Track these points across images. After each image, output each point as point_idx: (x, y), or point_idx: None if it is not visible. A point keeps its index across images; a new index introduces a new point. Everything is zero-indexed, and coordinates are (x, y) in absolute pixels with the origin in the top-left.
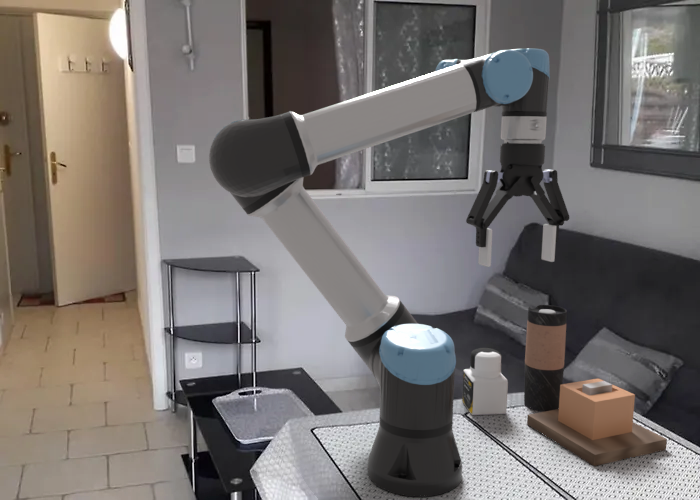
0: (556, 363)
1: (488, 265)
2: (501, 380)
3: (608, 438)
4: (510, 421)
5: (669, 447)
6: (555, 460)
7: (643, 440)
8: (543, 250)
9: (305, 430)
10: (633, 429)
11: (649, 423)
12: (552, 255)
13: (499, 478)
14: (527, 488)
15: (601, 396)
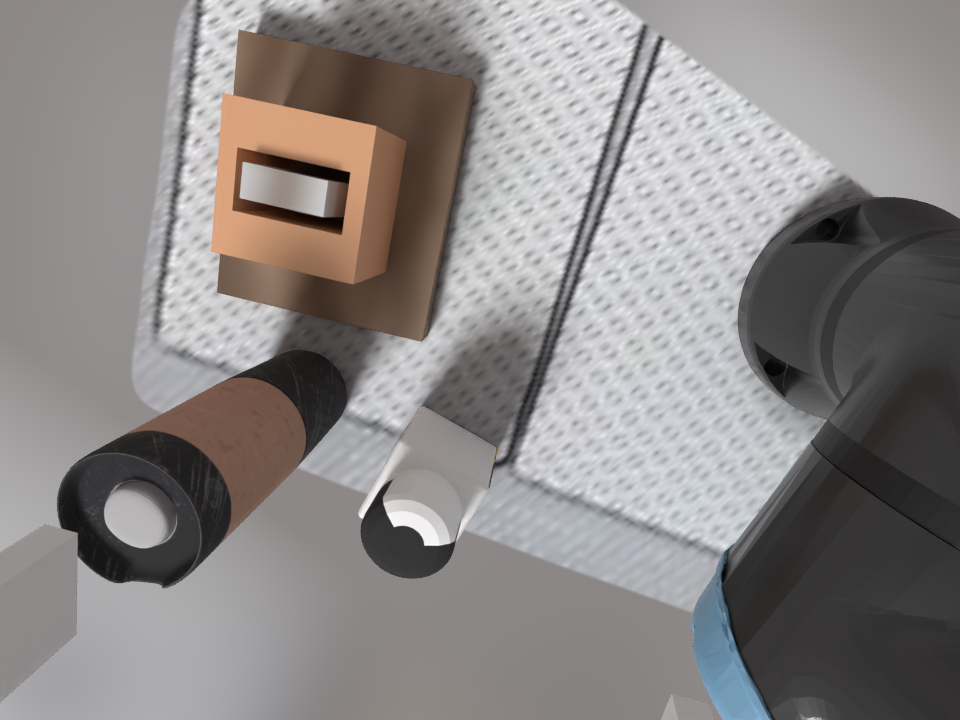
0: (248, 386)
1: (695, 710)
2: (416, 448)
3: (364, 123)
4: (445, 372)
5: (234, 43)
6: (527, 163)
7: (297, 61)
8: (6, 678)
9: None
10: None
11: (163, 163)
12: (17, 562)
13: (711, 178)
14: (699, 104)
15: (324, 144)
